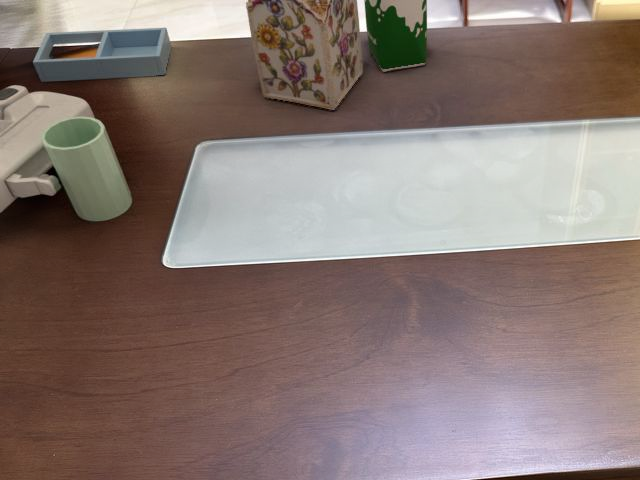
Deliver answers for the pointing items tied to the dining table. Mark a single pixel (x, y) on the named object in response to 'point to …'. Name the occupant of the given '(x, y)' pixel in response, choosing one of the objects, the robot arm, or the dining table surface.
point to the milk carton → (397, 31)
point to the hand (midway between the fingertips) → (81, 163)
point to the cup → (87, 167)
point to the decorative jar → (306, 49)
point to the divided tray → (104, 55)
